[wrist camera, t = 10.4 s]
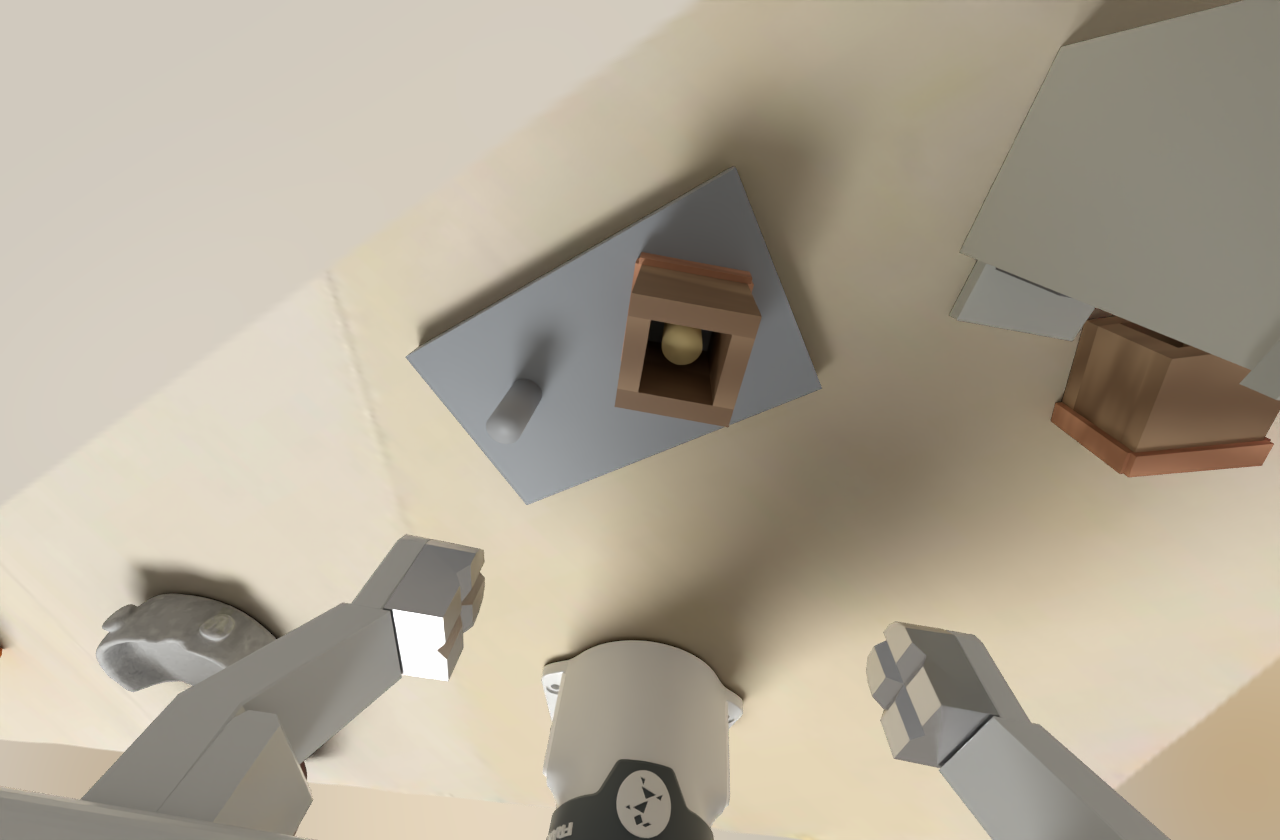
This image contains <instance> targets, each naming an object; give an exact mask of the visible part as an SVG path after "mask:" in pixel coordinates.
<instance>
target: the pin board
mask: <svg viewBox="0 0 1280 840" xmlns="http://www.w3.org/2000/svg"><path fill="white" fill-rule="evenodd" d="M641 252H644V253H650V254H655V255H661V256H666V257H671V258H677V259H682V260H688V261H693V262H699V263H704V264H710V265H715V266H721V267H726V268H731V269H737V270H742V271H748V272H750V274H751V276H752V282H753V284H754V286H753V290H752V295H753V298H754V300H755V302H756V304H757V307H758V309H759V311H760V314H761V316H762V318H761V321H760V325H759V328H758V331H757V335H756V338H755V341H754V344H753V348H752V351H751V354H750V358H749V361H748V364H747V367H746V371H745V374H744V377H743V381H742V384H741V387H740V390H739V394H738V397H737V400H736V404H735V407H734V410H733V414H732V417H731V420H730V423H729V425H731V424H733V423H736V422H738V421H741V420H744V419H746V418H749V417H751V416H754V415H756V414H759V413H761V412H764V411H766V410H769V409H771V408H774V407H776V406H779V405H781V404H784V403H787V402H789V401H792V400H794V399H797V398H799V397H802V396H804V395H807V394H809V393H812V392H814V391H817V390H819V389H822V387H821V384H820V382H819V379H818V377H817V374H816V372H815V369H814V366H813V364H812V361H811V359H810V356H809V354H808V351H807V349H806V346H805V343H804V341H803V338H802V336H801V333H800V331H799V328H798V326H797V323H796V320H795V318H794V315H793V313H792V310H791V308H790V305H789V302H788V300H787V297H786V295H785V292H784V290H783V287H782V285H781V282H780V279H779V277H778V274H777V272H776V269H775V267H774V264H773V262H772V259H771V256H770V254H769V251H768V249H767V246H766V244H765V241H764V238H763V236H762V233H761V231H760V228H759V226H758V223H757V221H756V218H755V215H754V213H753V210H752V208H751V205H750V203H749V200H748V198H747V195H746V192H745V190H744V187H743V185H742V182H741V180H740V177H739V174H738V172H737V169H736V168H735V167H734V166H732V167H731V168H729V169H727V170H725V171H724V172H722V173H720V174H718V175H717V176H715V177H713V178H711V179H710V180H708V181H706V182H705V183H703V184H701V185H699V186H698V187H696V188H694V189H692V190H691V191H689V192H687V193H685V194H684V195H682V196H680V197H678V198H677V199H675V200H673V201H671V202H670V203H668V204H666V205H664V206H663V207H661V208H659V209H658V210H656V211H654V212H652V213H651V214H649V215H647V216H645V217H644V218H642V219H640V220H638V221H637V222H635V223H633V224H631V225H630V226H628V227H626V228H624V229H623V230H621V231H619V232H618V233H616V234H614V235H612V236H611V237H609V238H607V239H605V240H604V241H602V242H600V243H598V244H597V245H595V246H593V247H591V248H590V249H588V250H586V251H584V252H583V253H581V254H579V255H578V256H576V257H574V258H572V259H571V260H569V261H567V262H565V263H564V264H562V265H560V266H558V267H557V268H555V269H553V270H551V271H550V272H548V273H546V274H544V275H543V276H541V277H539V278H537V279H536V280H534V281H532V282H531V283H529V284H527V285H525V286H524V287H522V288H520V289H518V290H517V291H515V292H513V293H511V294H510V295H508V296H506V297H504V298H503V299H501V300H499V301H497V302H496V303H494V304H492V305H491V306H489V307H487V308H485V309H484V310H482V311H480V312H478V313H477V314H475V315H473V316H471V317H470V318H468V319H466V320H464V321H463V322H461V323H459V324H457V325H456V326H454V327H452V328H451V329H449V330H447V331H445V332H444V333H442V334H440V335H438V336H437V337H435V338H433V339H431V340H430V341H428V342H426V343H424V344H423V345H421V346H419V347H418V348H416V349H415V350H414V351H412V352H411V353H410V354H409V355H407V356H406V358H407V360H408V361H409V362H410V363H411V364H412V366H413V367H414V368H415V369H416V371H417V372H418V373H419V374H420V375H421V377H422V378H423V379H424V380H425V382H426V383H427V384H428V385H429V386H430V388H431V389H432V390H433V391H434V393H435V394H436V395H437V396H438V397H439V399H440V400H441V401H442V402H443V404H444V405H445V406H446V407H447V408H448V410H449V411H450V412H451V413H452V414H453V416H454V417H455V418H456V419H457V421H458V422H459V423H460V424H461V425H462V427H463V428H464V429H465V430H466V432H467V433H468V434H469V435H470V436H471V438H472V439H473V440H474V441H475V443H476V444H477V445H478V446H479V447H480V449H481V450H482V451H483V452H484V454H485V455H486V456H487V457H488V458H489V460H490V461H491V462H492V463H493V465H494V466H495V467H496V468H497V469H498V471H499V472H500V473H501V474H502V475H503V477H504V478H505V479H506V480H507V482H508V483H509V484H510V485H511V486H512V488H513V489H514V490H515V491H516V493H517V494H518V495H519V496H520V497H521V499H522V500H523V501H524V502H525V504H526V505H528V504H531V503H533V502H536V501H539V500H541V499H544V498H546V497H549V496H551V495H554V494H556V493H559V492H561V491H564V490H566V489H569V488H571V487H574V486H577V485H579V484H582V483H584V482H587V481H589V480H592V479H594V478H597V477H599V476H602V475H604V474H607V473H609V472H612V471H614V470H617V469H620V468H622V467H625V466H627V465H630V464H632V463H635V462H637V461H640V460H642V459H645V458H647V457H650V456H652V455H655V454H657V453H660V452H663V451H665V450H668V449H670V448H673V447H675V446H678V445H680V444H683V443H685V442H688V441H690V440H693V439H695V438H698V437H701V436H703V435H706V434H708V433H711V432H713V431H716V430H718V429H721V428H723V426H718V425H712V424H707V423H701V422H696V421H690V420H685V419H679V418H673V417H668V416H662V415H657V414H651V413H646V412H640V411H635V410H629V409H624V408H618V407H614V406H615V400H616V393H617V386H618V380H619V373H620V366H621V356H622V350H623V343H624V336H625V329H626V323H627V316H628V309H629V303H630V296H631V289H632V283H633V276H634V269H635V263H636V261H637V258H640V255H641ZM711 334H712V331H708V330H703V329H698V328H692V327H687V326H681V325H676V324H670V323H665V322H659V321H654V320H652V321H651V327H650V332H649V338H648V341H652V342H658V343H662V352H663V354H664V356H665V357H666V358H667V359H668V360H669V361H670V362H672V363H674V364H677V365H686V364H690V363H692V362H694V361H695V360H696V359H697V358H698V357H699V356H700V354H701V352H702V351H707V350H708V346H709V342H710V338H711Z"/></svg>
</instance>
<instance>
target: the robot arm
mask: <svg viewBox="0 0 1280 840" xmlns="http://www.w3.org/2000/svg"><path fill="white" fill-rule="evenodd" d="M483 564H484V550H482V549H478V548H474V547H469V546H464V545H459V544H454V543H449V542H444V541H439V540H434V539H428V538H423V537H418V536H413V535H407V534H406V535H404V536H403V537H402V538H400V539H399V540H398V541H397V542H396V543H395V545H394V546H393V547H392V549H391V550H390V551H389V553H388V554H387V555H386V557H385V558H384V560H383V561H382V562H381V564H380V565H379V566H378V568H377V569H376V570H375V572H374V573H373V574H372V576H371V577H370V579H369V580H368V581H367V583H366V584H365V585H364V587H363V588H362V589H361V591H360V592H359V593H358V595H357V596H356V598H355V599H354V600H353V602H352V603H351V604H350V603H341V604H339V605H337V606H336V607H334V608H332V609H330V610H328V611H327V612H325V613H323V614H321V615H319V616H318V617H316V618H314V619H312V620H310V621H309V622H307V623H305V624H303V625H302V626H300V627H298V628H296V629H294V630H293V631H291V632H289V633H287V634H285V635H284V636H282V637H280V638H278V639H276V640H275V641H273V642H271V643H269V644H267V645H266V646H264V647H262V648H260V649H259V650H257V651H255V652H253V653H251V654H250V655H248V656H246V657H244V658H242V659H241V660H239V661H237V662H235V663H233V664H232V665H230V666H228V667H226V668H224V669H223V670H221V671H219V672H217V673H216V674H214V675H212V676H210V677H208V678H207V679H205V680H203V681H201V682H199V683H198V684H196V685H194V686H192V687H190V688H189V689H187V690H185V691H183V692H181V693H180V694H178V695H177V696H176V697H175V699H174V700H173V701H172V702H171V703H170V704H169V705H168V706H167V707H166V708H165V709H164V710H163V711H162V712H161V714H160V715H159V716H158V717H157V718H156V719H155V720H154V721H153V722H152V723H151V724H150V725H149V726H148V727H147V729H146V730H145V731H144V732H143V733H142V734H141V735H140V736H139V737H138V738H137V739H136V740H135V741H134V742H133V744H132V745H131V746H130V747H129V748H128V749H127V750H126V751H125V752H124V753H123V754H122V756H120V758H119V759H118V760H117V761H116V762H115V763H114V764H113V765H112V766H111V767H110V768H109V769H108V770H107V771H106V773H105V774H104V775H103V776H102V777H101V778H100V779H99V780H98V781H97V782H96V783H95V784H94V786H93V787H92V788H91V789H90V790H89V791H88V792H87V793H86V794H85V795H84V796H83V797H82V798H81V799H80V800H79V799H73V798H68V797H62V796H56V795H50V794H44V793H38V792H33V791H26V790H21V789H15V788H9V787H3V786H0V840H315V839H308V838H303V837H297V836H293V835H294V834H295V832H296V830H297V828H298V826H299V825H300V823H301V821H302V819H303V817H304V816H305V814H306V812H307V810H308V808H309V807H310V805H311V803H312V801H313V798H312V793H311V789H310V787H309V785H308V782H307V780H306V778H305V776H304V774H303V771H302V769H301V767H300V765H299V764H301V763H302V762H303V761H304V760H305V759H307V758H308V757H309V756H310V755H311V754H312V753H314V752H315V751H316V750H317V749H318V748H319V747H321V746H322V745H323V744H324V743H325V742H327V741H328V740H329V739H330V738H331V737H332V736H334V735H335V734H336V733H337V732H338V731H339V730H341V729H342V728H343V727H344V726H345V725H347V724H348V723H349V722H350V721H351V720H352V719H354V718H355V717H356V716H357V715H358V714H359V713H361V712H362V711H363V710H364V709H365V708H367V707H368V706H369V705H370V704H371V703H372V702H374V701H375V700H376V699H377V698H378V697H379V696H381V695H382V694H383V693H384V692H385V691H387V690H388V689H389V688H390V687H391V686H392V685H394V684H395V683H396V682H397V681H398V680H399V679H401V677H402V675H409V676H416V677H423V678H430V679H437V680H444V681H449V679H450V676H451V674H452V672H453V670H454V668H455V665H456V663H457V661H458V659H459V656H460V654H461V652H462V650H463V648H464V647H463V633H464V632H466V631H467V630H468V629H470V628H471V627H473V625H474V622H475V620H476V618H477V615H478V613H479V610H480V606H481V603H482V600H483V595H484V588H485V577H484V576H483V575H482V574H481V573H480V570H481V568H482V566H483ZM883 633H884V635H885V638H886V641H884V642H882V643H880V644H878V645H876V646H874V647H873V649H872V651H871V652H870V654H869V656H868V659H867V667H866V674H867V681H868V685H869V688H870V691H871V694H872V697H873V698H874V699H875V700H876V701H877V702H878V703H879V704H880V705H881V707H882V708H883V709H884V711H883V714H882V717H881V720H880V721H881V724H882V726H883V729H884V732H885V735H886V738H887V741H888V744H889V747H890V749H891V752H892V755H893V758H894V759H898V760H903V761H908V762H913V763H918V764H923V765H928V766H933V767H937V768H940V769H939V771H940V773H941V774H942V775H943V777H944V778H945V779H946V780H947V782H948V783H949V784H950V786H951V787H952V788H953V790H954V791H955V792H956V793H957V795H958V796H959V797H960V799H961V800H962V801H963V802H964V804H965V805H966V806H967V808H968V809H969V810H970V811H971V813H972V814H973V815H974V817H975V818H976V819H977V820H978V822H979V823H980V824H981V826H982V827H983V828H984V829H985V831H986V832H987V833H988V835H989V836H990V837H991V839H992V840H1170V839H1169V838H1168V837H1167V836H1166V835H1165V834H1164V833H1162V832H1161V831H1160V830H1159V829H1158V828H1157V827H1156V826H1155V825H1153V824H1152V823H1151V822H1150V821H1149V820H1148V819H1147V818H1145V817H1144V816H1143V815H1142V814H1141V813H1140V812H1138V811H1137V810H1136V809H1135V808H1134V807H1133V806H1132V805H1131V804H1129V803H1128V802H1127V801H1126V800H1125V799H1124V798H1123V797H1122V796H1120V795H1119V794H1118V793H1117V792H1116V791H1115V790H1114V789H1112V788H1111V787H1110V786H1109V785H1108V784H1107V783H1106V782H1104V781H1103V780H1102V779H1101V778H1100V777H1099V776H1098V775H1096V774H1095V773H1094V772H1093V771H1092V770H1091V769H1090V768H1089V767H1087V766H1086V765H1085V764H1084V763H1083V762H1082V761H1081V760H1079V759H1078V758H1077V757H1076V756H1075V755H1074V754H1073V753H1071V752H1070V751H1069V750H1068V749H1067V748H1066V747H1065V746H1063V745H1062V744H1061V743H1060V742H1059V741H1058V740H1057V739H1055V738H1054V737H1053V736H1052V735H1051V734H1050V733H1049V732H1048V731H1046V730H1045V729H1044V728H1043V727H1042V726H1041V725H1039V724H1035V723H1031V722H1030V720H1029V719H1028V717H1027V715H1026V714H1025V712H1024V710H1023V709H1022V707H1021V705H1020V704H1019V702H1018V700H1017V699H1016V697H1015V695H1014V694H1013V692H1012V691H1011V689H1010V687H1009V686H1008V684H1007V682H1006V681H1005V679H1004V677H1003V676H1002V674H1001V672H1000V671H999V669H998V668H997V666H996V664H995V663H994V661H993V659H992V658H991V656H990V654H989V653H988V651H987V649H986V648H985V646H984V644H983V643H982V642H981V641H980V640H979V639H978V638H977V637H976V636H975V635H972V634H966V633H960V632H955V631H949V630H944V629H940V628H933V627H927V626H921V625H915V624H909V623H903V622H897V621H896V622H893V623H891V624H889V625H888V627H887V628H886V630H885V631H884V632H883ZM401 674H402V675H401ZM541 680H542V685H543V689H544V693H545V697H546V700H547V704H548V708H549V712H550V716H551V720H552V725H551V729H550V735H549V740H548V745H547V750H546V755H545V760H544V765H543V774H544V775H545V776H546V777H547V785H548V787H549V789H550V790H551V792H552V793H553V796H554V799H555V803H556V810H555V811H554V813H553V815H552V819H551V824H550V829H549V834H548V836H547V839H546V840H714V839H713V833H712V831H711V829H710V828H711V826H712V824H713V822H714V821H715V819H716V818H717V817H718V816H720V815H721V814H722V812H723V810H724V808H725V807H727V806H728V805H729V800H730V768H729V728H730V727H731V726H732V725H733V724H734V723H735V722H736V721H737V720H738V719H739V718H740V717H741V716H742V714H743V700H742V699H741V698H740V697H739V696H738V695H736V694H735V693H733V692H732V691H730V690H729V689H727V688H725V687H724V686H723V685H722V683H721V682H720V680H719V679H718V677H717V675H716V674H715V672H714V671H713V670H712V669H711V668H710V667H709V666H708V665H707V664H706V663H705V662H703V661H702V660H700V659H699V658H697V657H696V656H694V655H692V654H690V653H688V652H686V651H684V650H681V649H679V648H676V647H673V646H669V645H666V644H661V643H656V642H650V641H638V640H626V641H615V642H609V643H605V644H601V645H597V646H595V647H592V648H590V649H588V650H586V651H584V652H582V653H581V654H579V655H578V656H576V657H574V658H572V659H570V660H565V661H560V662H555V663H551V664H548V665H546V666H545V667H544V668H543V672H542V679H541Z"/></svg>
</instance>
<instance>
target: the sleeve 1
mask: <svg viewBox="0 0 1280 840" xmlns="http://www.w3.org/2000/svg"><path fill="white" fill-rule="evenodd" d="M753 286H754V284H753V282H752V276H751V274H750V272H748V271H742V270H737V269H731V268H726V267H721V266H715V265H710V264H704V263H699V262H693V261H688V260H682V259H677V258H671V257H666V256H661V255H655V254H650V253H644V252H641V255H640V258H637V261H636V263H635V269H634V276H633V283H632V289H631V296H630V303H629V309H628V316H627V323H626V329H625V336H624V343H623V350H622V356H621V366H620V373H619V380H618V386H617V393H616V400H615V406H614V407H618V408H624V409H629V410H635V411H640V412H646V413H651V414H657V415H662V416H668V417H673V418H679V419H685V420H690V421H696V422H701V423H707V424H712V425H718V426H723V427H729V423H730V420H731V417H732V414H733V410H734V407H735V404H736V400H737V397H738V394H739V390H740V387H741V384H742V381H743V377H744V374H745V371H746V367H747V364H748V361H749V358H750V354H751V351H752V348H753V344H754V341H755V338H756V335H757V331H758V328H759V325H760V321H761V318H762V316H761V314H760V311H759V309H758V307H757V304H756V302H755V300H754V298H753V295H752V290H753ZM652 320H654V321H659V322H665V323H670V324H676V325H681V326H687V327H692V328H698V329H703V330H708V331H712V334H711V338H710V342H709V346H708V350H707V351H702V352H701V354H700V356H699V357H698V358H697V359H696V360H695V361H694V362H692V363H690V364H686V365H677V364H674V363H672V362H670V361H669V360H668V359H667V358H666V357H665V356H664V354H663V352H662V343H658V342H652V341H648V338H649V332H650V327H651V321H652Z"/></svg>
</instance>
